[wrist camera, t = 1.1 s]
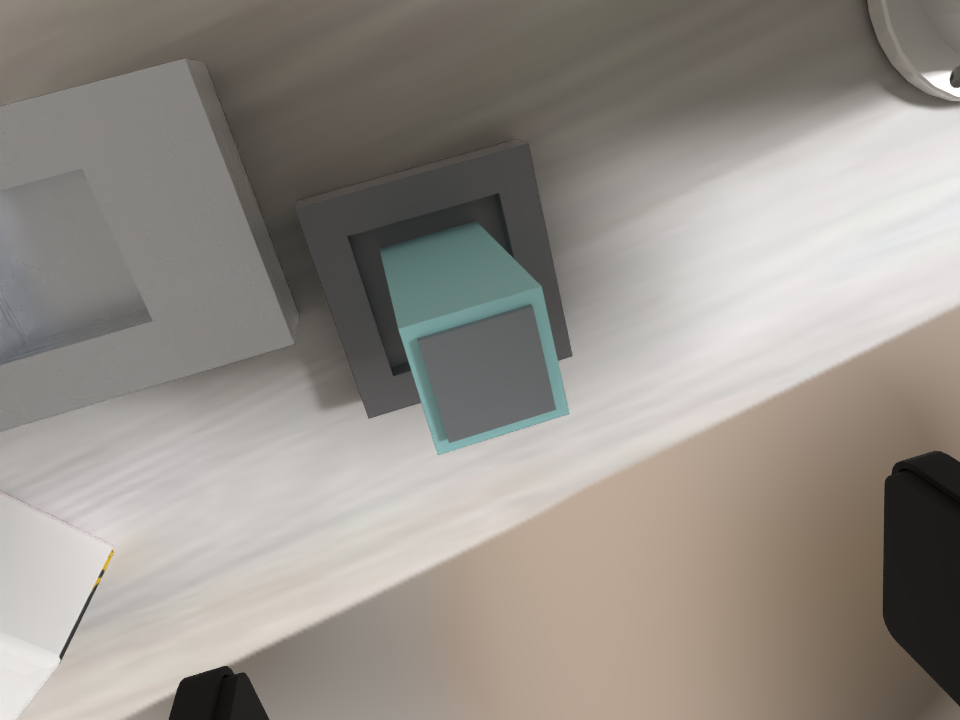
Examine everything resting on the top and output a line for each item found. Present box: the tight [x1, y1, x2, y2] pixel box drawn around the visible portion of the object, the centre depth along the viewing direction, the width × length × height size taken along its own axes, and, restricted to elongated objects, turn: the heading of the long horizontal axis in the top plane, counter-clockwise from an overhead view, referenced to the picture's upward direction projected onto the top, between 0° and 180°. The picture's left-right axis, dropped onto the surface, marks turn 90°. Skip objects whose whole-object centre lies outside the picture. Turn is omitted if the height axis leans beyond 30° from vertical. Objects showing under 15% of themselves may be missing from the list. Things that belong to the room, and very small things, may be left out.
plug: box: [380, 221, 569, 455], centre depth 24 cm, size 4×4×10 cm
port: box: [0, 58, 299, 431], centre depth 25 cm, size 14×10×4 cm
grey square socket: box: [295, 139, 572, 418], centre depth 29 cm, size 9×9×2 cm
